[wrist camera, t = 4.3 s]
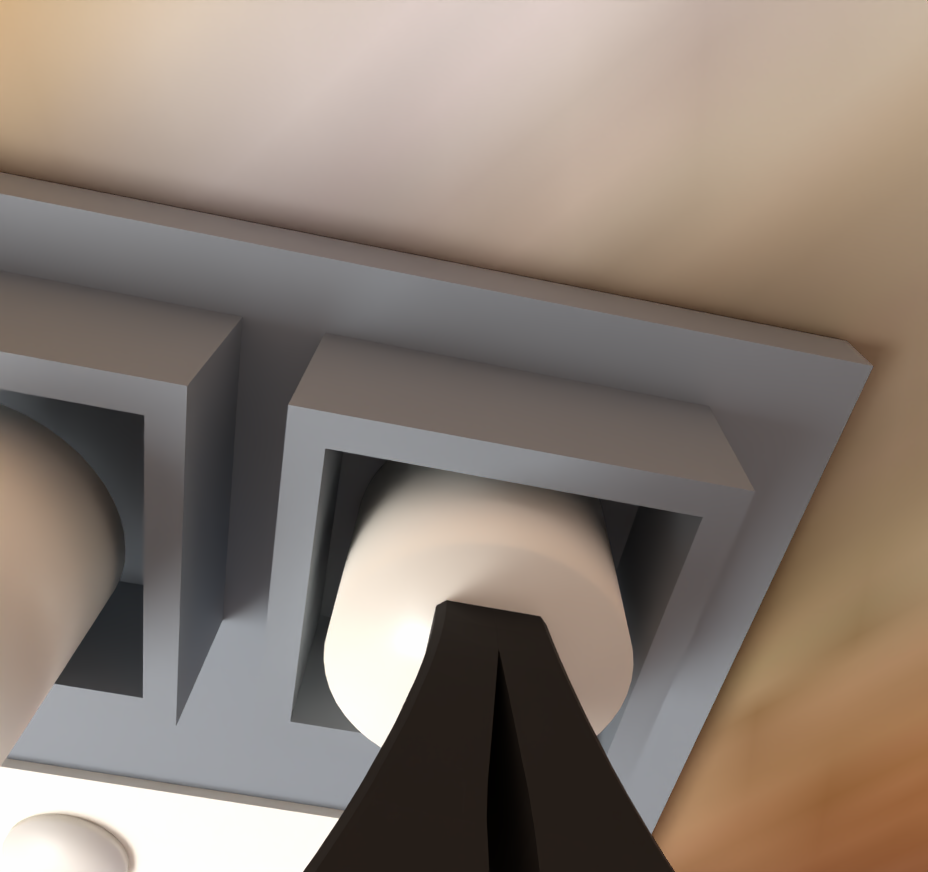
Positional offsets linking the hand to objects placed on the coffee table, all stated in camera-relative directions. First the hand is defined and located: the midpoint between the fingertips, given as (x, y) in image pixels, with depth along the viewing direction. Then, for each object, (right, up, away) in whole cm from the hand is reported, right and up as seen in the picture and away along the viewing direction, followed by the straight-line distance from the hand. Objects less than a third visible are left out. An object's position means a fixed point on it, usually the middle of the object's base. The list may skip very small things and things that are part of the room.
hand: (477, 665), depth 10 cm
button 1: (0, +1, +3) cm, 3 cm away
